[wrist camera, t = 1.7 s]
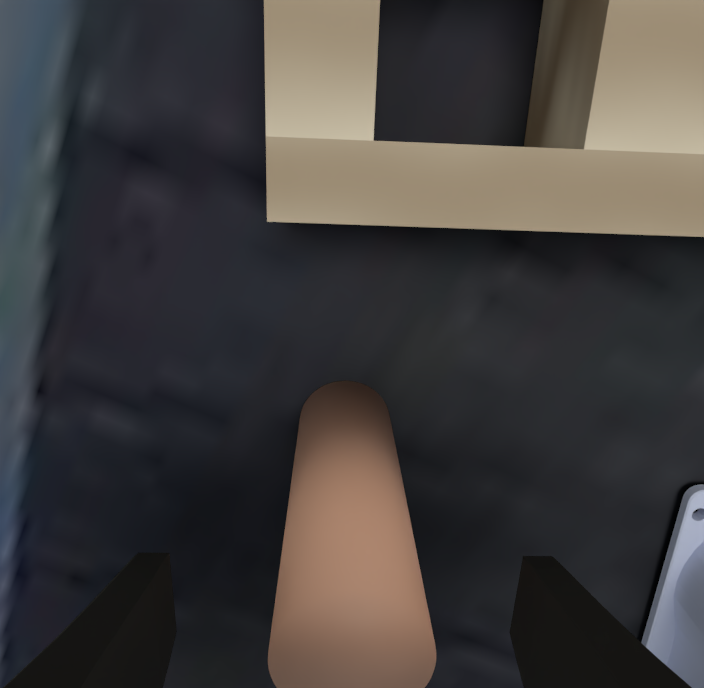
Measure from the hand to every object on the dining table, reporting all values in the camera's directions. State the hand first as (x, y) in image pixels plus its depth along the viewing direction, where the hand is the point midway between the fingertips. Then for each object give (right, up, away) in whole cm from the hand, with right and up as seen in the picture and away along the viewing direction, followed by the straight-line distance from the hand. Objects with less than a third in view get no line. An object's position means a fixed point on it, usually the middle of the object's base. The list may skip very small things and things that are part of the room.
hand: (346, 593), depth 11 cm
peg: (0, +2, +7) cm, 8 cm away
